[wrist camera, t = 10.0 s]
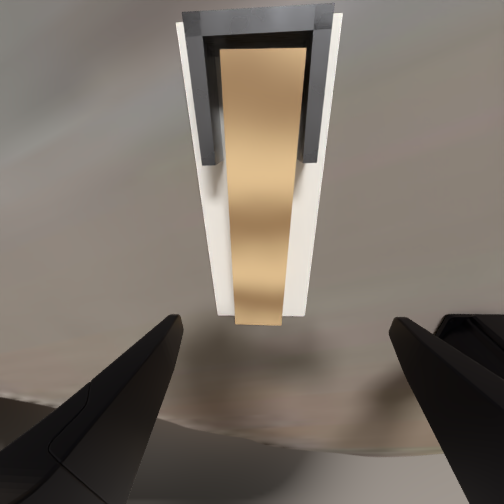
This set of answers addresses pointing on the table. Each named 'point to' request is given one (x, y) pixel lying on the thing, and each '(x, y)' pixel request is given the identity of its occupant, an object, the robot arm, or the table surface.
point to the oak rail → (261, 172)
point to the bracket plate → (213, 137)
